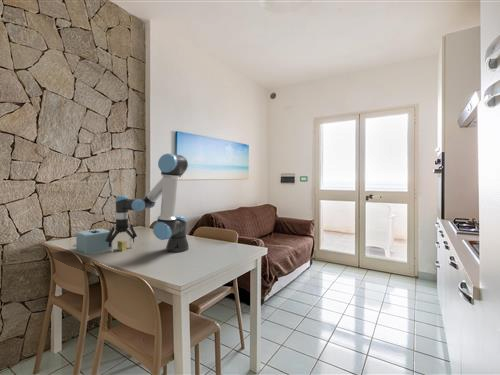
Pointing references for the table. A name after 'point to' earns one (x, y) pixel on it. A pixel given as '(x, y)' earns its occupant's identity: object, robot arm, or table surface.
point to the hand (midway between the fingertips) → (121, 249)
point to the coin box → (92, 241)
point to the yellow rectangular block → (122, 245)
